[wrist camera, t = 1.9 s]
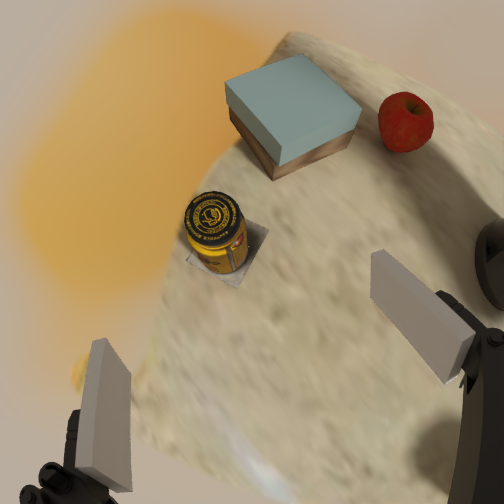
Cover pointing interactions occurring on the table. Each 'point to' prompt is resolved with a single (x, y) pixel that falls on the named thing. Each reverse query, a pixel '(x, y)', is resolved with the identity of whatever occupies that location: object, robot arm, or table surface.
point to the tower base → (295, 164)
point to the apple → (405, 122)
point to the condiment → (221, 237)
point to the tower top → (291, 107)
